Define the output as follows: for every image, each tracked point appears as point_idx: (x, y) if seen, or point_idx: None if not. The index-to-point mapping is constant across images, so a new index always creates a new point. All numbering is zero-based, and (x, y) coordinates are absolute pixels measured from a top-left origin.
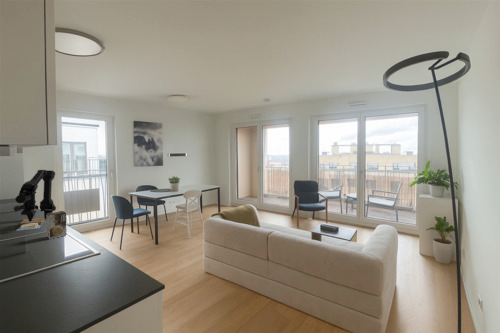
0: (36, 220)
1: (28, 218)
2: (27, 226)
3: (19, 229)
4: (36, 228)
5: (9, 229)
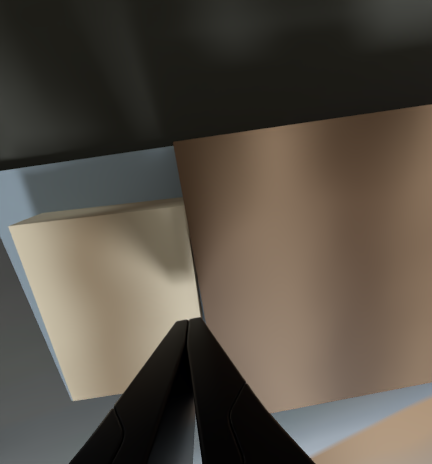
0: (327, 340)
1: (136, 387)
2: (47, 310)
3: (32, 201)
4: (64, 379)
5: (104, 11)
